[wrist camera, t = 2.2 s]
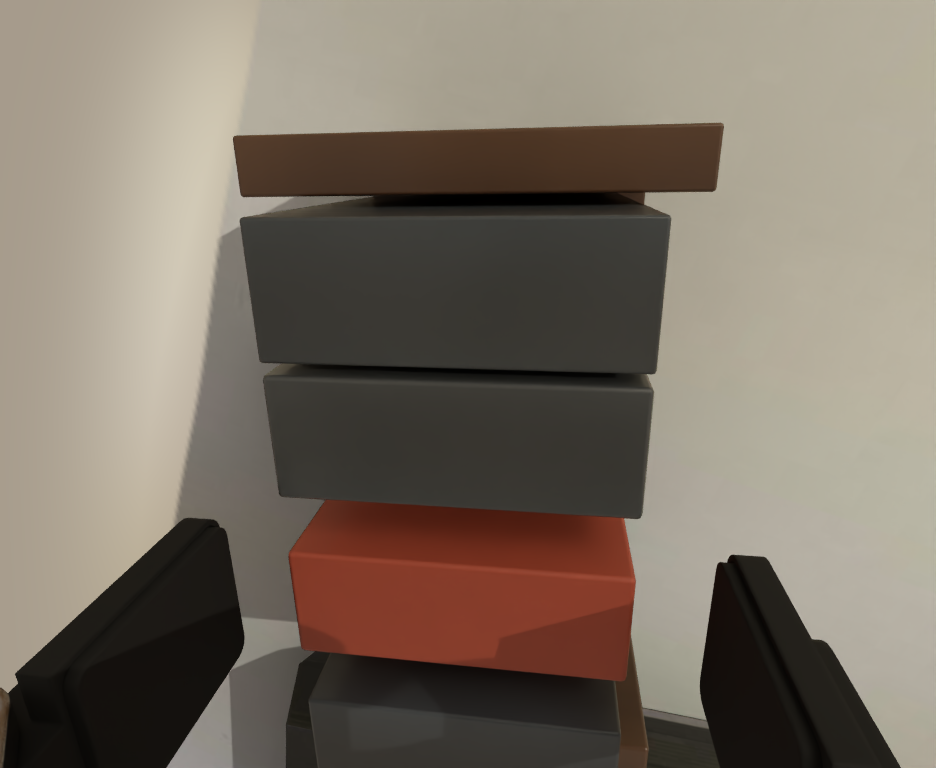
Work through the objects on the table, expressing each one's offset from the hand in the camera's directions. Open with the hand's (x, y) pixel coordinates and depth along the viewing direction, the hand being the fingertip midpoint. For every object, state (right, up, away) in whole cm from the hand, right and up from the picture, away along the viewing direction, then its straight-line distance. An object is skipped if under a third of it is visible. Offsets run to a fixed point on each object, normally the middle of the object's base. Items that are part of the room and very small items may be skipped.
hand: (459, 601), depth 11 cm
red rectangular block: (+1, +3, +9) cm, 9 cm away
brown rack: (+1, +5, +9) cm, 10 cm away
